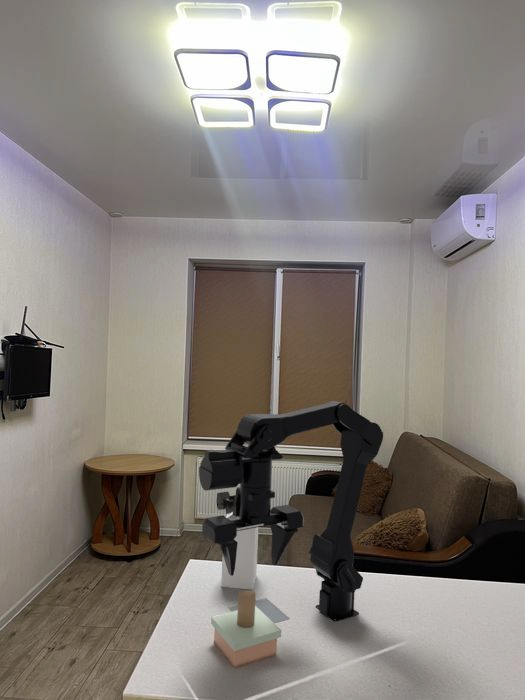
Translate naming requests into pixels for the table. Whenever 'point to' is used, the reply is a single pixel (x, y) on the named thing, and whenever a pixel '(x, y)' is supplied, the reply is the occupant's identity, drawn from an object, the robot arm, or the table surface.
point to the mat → (267, 610)
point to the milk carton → (242, 559)
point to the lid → (245, 624)
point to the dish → (245, 651)
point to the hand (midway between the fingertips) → (253, 569)
